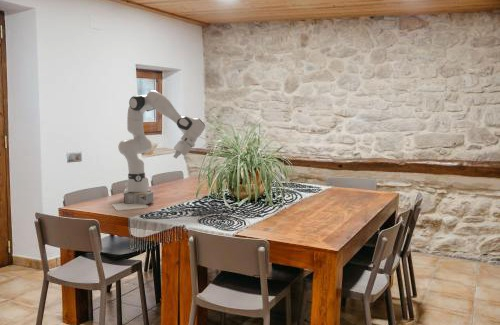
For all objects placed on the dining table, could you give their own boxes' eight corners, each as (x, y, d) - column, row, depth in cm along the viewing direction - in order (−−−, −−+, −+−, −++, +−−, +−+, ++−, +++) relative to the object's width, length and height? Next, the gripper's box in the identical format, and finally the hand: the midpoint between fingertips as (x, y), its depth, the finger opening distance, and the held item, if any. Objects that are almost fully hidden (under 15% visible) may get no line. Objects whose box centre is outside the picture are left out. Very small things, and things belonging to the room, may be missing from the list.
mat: (111, 205, 297) (111, 204, 297) (141, 202, 305) (141, 201, 305) (116, 211, 279) (116, 210, 279) (148, 207, 287) (148, 206, 287)
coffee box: (153, 201, 302) (130, 200, 306) (153, 191, 302) (130, 191, 305) (147, 204, 294) (124, 203, 297) (147, 194, 293) (123, 193, 297)
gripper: (179, 136, 315) (167, 152, 313) (188, 139, 296) (174, 157, 294) (186, 141, 317) (174, 157, 316) (195, 145, 299) (182, 162, 297)
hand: (174, 157), depth 305 cm, fingers closed
